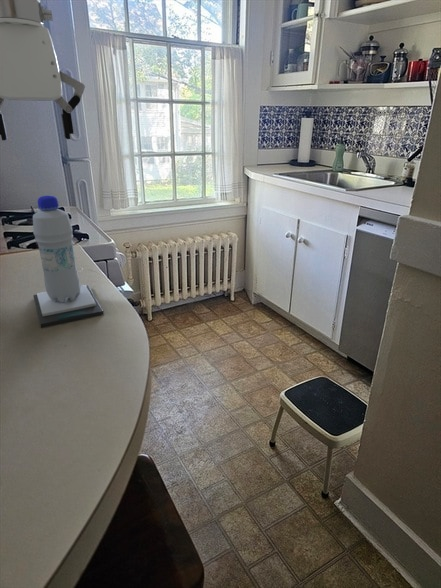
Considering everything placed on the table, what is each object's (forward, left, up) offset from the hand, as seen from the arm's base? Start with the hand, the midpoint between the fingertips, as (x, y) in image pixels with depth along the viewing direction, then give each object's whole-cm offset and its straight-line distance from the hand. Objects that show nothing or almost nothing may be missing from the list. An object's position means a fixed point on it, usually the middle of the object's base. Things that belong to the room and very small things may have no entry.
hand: (37, 139), depth 65 cm
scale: (0, -1, -32) cm, 32 cm away
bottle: (0, 0, -30) cm, 30 cm away
